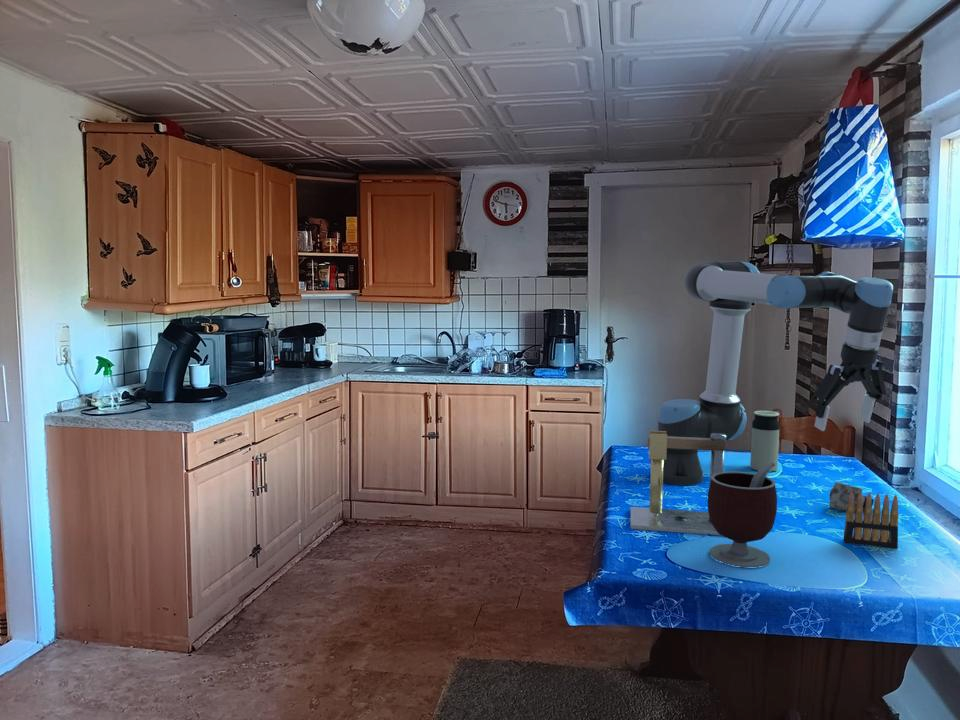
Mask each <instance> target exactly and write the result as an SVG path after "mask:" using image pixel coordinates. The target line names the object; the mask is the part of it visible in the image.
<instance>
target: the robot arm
mask: <svg viewBox="0 0 960 720" xmlns="http://www.w3.org/2000/svg"><path fill="white" fill-rule="evenodd" d="M684 288H685V290H686V292H687V294H688V295H689V296H690V297H691V298H692V299H694V300H696V301H699V302H707V303H708V302H709V308H710V309H711V311H712V312H713V317H712V319H713V320H712V328H711V338H710V347H709V356H708V366H707V375H706V382H705V383H706V384H705V390H704V391H702V393H700V394H699V400H696V399H692V398H683V399H681V398H679V399H671V400H667V401H664V402H663V403H661V404H660V406H659V408H658V414H657V415H658V417H657V422H658V425H657V431H666V435H667V436H673V437H695V438H710V436H711V434H712V433H721V434H725V435H726V441H725V442H727V441H731V440H735V439H737V438H738V437H740V436H741V435H742V434H743V433H744V431H745V428H746V427H747V426H746V425H747V421H748V419H747V413H746V409H745V407H744V405H743V404H741V398H740V397H739V396H738V395H737V393H736V392H737V385H738V384H737V383H738V375H739V367H740V359H741V351H742V349H741V347H742V341H743V340H742V339H743V331H744V325H745V321H744V320H745V316H746V314H747V313H748V312H750V311H751V309H752V304H753V303H754V304H761V305H768V306H769V305H770V306H772V307H774V308H777V309H783V310H785V309H786V310H789V309H803V308H804V309H805V308H806V309H807V308H810V309H821V308H822V309H824V308H827V309H828V308H829V309H830V308H832V309H836V310H838V311H841V312H843V313H845V314H848V315H849V316H848V320H847V325H846V329H845V334H844V338H843V340H844V342H843V343H842V347H841V351H840V358H841V363H840V365H838V366H837V365H834V364H830V365H829V367H828V369H827V373H826V375H824V377H823V379H822V381H821V382H820V384H819V386H818V387H817V389H816V390H815V392H814V394H813V395H812V396H811V399H810V402H812V403H814V404H816V405H817V406H816V409H815V413H814V414H815V416H816V417H815V420H814V421H815V422H814V425H813V426H814V427H815V428H816V429H818V430H820V431H821V432H824V431H826V427H827V423H828V420H829V419H828V418H829V413H830V410H831V406H830V405H829V404H830V403H831V402H832V401H833V400H834V399H835V398H836V397H837V396H838V395H839V394H840V392H841V391H842V390H843V388H844V387H847V386H849V385H850V384H851V383H856V382H860V383H861V384H862V385H863V388H864V390H865V391H866V394H864V395H863V399H862V403H861V407H860V411H859V414H858V415H859V416H858V419H859V420H861V421H863V422H865V423H867V424H870V422H871V418H872V414H873V411H874V408H875V407H876V402H877V400H881V399H882V397H883V395H886V393H887V390H886V384H885V380H884V374H883V365H884V362H883V361H882V360H881V361H880V360H878V359H877V358H878V354H879V351H880V350H879V347H880V344H881V340H882V336H883V331H884V328H885V324H886V320H887V318H888V317H887V316H888V314H889V311H890V307H891V304H892V298H893V291H894V285H893V284H892V283H891V282H890V281H889V280H887V279H883V278H878V277H870V276H867V277H866V276H865V277H861V278H859V279H858V280H857V281H855V280H852V279H851V278H848V277H847V276H846V277H845V276H844V275H841V274H840V273H836V272H835V273H834V272H830V271H822V272H821V273H818V274H817V275H788V274H777V273H776V274H775V273H763V272H762V273H761V272H760V271H759V269H758V268H757V267H756V266H755V265H754V264H753V263H750V262H747V261H746V262H745V261H740V260H739V261H737V260H733V261H732V260H729V261H727V260H726V261H723V260H722V261H717V260H716V261H712V260H710V261H709V260H707V261H700V262H698V263H696V264H694V265H692V266H691V267H690V268H689V269H688V270H687V272H686V274H685V277H684ZM698 452H699V450H696V449H676V448H667V454H666V460H664V467H663V484H667V485H673V486H674V485H675V486H692V485H697V484H700V483H702V482H703V481H704V472H703V470H702V465H701V461H700V458H699V454H698Z"/></svg>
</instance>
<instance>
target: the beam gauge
mask: <svg viewBox="0 0 960 720" xmlns="http://www.w3.org/2000/svg"><path fill="white" fill-rule="evenodd" d="M646 437H647V441H646V445H647V448H649V447H650V435H649V434H648V435H647V436H646ZM726 442H727V441H726V435H725V434H721V433H712V434H711V436H710V438H695V437H673V436H667V448H676V449H696V450H698V451H699V450H700V451H701V450H702V451H710V469H709V470H710V472H709V483H710V482H711V476H712V475H714V474H716V473H721V472H725V471H724V470H725V469H724V468H725V452H726ZM649 510H650V507H640V506H630V530H639V531H640V530H641V531H653V532H669V533H679V534H680V533H682V534H693V533H694V534H695V533H696V534H695V535H697V534H698V535H707V536H708V534H710V535H711V536H721V535H720V534H719V533H718V532H717V531H716V530H715V528H714V527H713V525H712V524H711V522H710V518H709V513H708V511H702V510H701V511H699V510H698V511H697V510H687V509H686V510H685V509H683V510H682V509H671V508H670V509H669V508H662V513H660V514H658V516H654V513H651V512H650V511H649Z"/></svg>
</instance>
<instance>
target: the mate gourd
mask: <svg viewBox="0 0 960 720" xmlns="http://www.w3.org/2000/svg"><path fill="white" fill-rule="evenodd" d="M773 466H775V463H773V462H772V463H770V464H768V465H766V466H765V467H763V468H761V469H760V470H759V471H756V472H755V473H753V472H752V473H751V472H745V471H744V472H743V471H724V472H721V473H716V474H714V475H712V476H711V482H710V481H709V486H708V490H707V512H708V513H709V518H710V522H711V524H712V525H713V527H714V528H715V530H716V531H717V532H718V533H719V534H720V535H719V536H721V535H722V537H724V538H727V539H729V540H731V541H732V543H721V544H717V545H714V546H712V547H710V549H709V556H710V555H711V556H712V557H713V558H714V559H716V560H718V561H721V562H723V563H726V564H730V565H734V566H740V567H759V566H764V565H767V564H768V563H769V562H771V556H770V555H769V554H768V553H767V552H766V551H764V550H761V549H759V548H757V547H753V546H750V545H748V543H750V542H756V541H757V542H758V541H760V540H762V539H764V538H765V537H766V536H767V535H768V534H769V533H771V532H772V530H773V527H774V525H775V521H776V517H777V512H778V496H777V495H778V494H777V488H776V481H775V480H774V479H772V478H770V477H768V474H769V473H770V472H769V470H770V469H771V468H772V467H773ZM769 564H770V563H769ZM769 564H768V565H769ZM768 565H767V566H768Z"/></svg>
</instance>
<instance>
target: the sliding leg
mask: <svg viewBox="0 0 960 720" xmlns="http://www.w3.org/2000/svg"><path fill="white" fill-rule="evenodd" d="M648 435H650V447H648V460H650V484H649V508H650V510H649V511H650V512H651V513H654V516H658V514H660V513H662V509H663V498H664V497H663V493H664V491H663V490H664V483H663V467H664V460H666V454H667V435H666V431H658V430H649V434H648Z"/></svg>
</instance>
